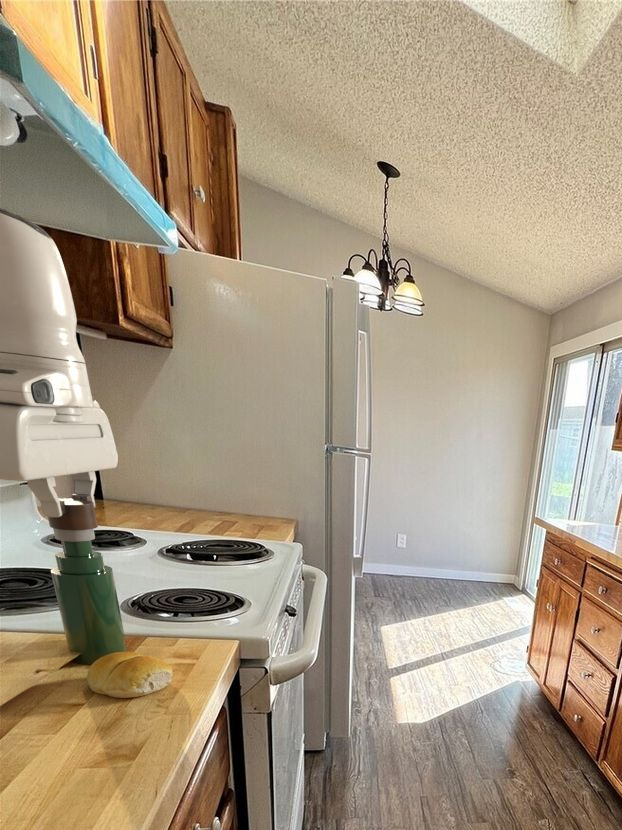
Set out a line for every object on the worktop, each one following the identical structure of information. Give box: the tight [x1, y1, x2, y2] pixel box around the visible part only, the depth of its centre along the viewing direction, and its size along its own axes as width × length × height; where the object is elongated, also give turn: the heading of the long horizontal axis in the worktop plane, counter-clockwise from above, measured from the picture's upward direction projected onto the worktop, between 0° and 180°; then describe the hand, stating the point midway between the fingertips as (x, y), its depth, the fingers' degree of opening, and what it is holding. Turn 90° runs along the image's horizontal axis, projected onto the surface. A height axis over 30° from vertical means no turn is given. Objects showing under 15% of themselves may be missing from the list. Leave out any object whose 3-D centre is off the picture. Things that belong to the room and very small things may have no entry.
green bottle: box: [50, 528, 128, 665], centre depth 73 cm, size 6×6×18 cm
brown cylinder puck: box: [47, 498, 99, 530], centre depth 69 cm, size 5×5×3 cm
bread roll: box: [86, 651, 173, 699], centre depth 69 cm, size 8×9×4 cm
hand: (71, 512), depth 69 cm, fingers closed on brown cylinder puck, 5 cm apart
